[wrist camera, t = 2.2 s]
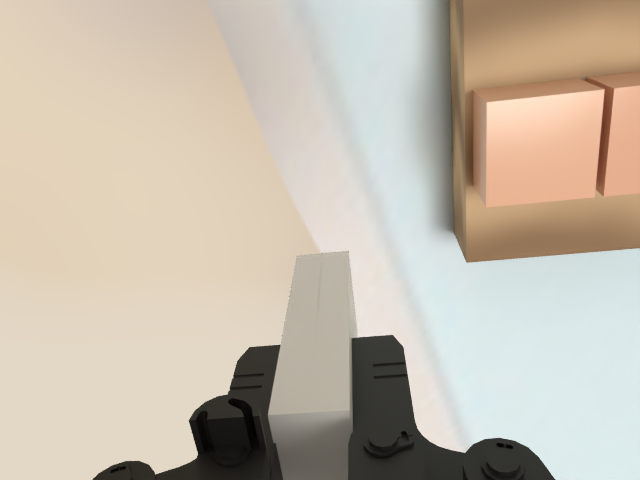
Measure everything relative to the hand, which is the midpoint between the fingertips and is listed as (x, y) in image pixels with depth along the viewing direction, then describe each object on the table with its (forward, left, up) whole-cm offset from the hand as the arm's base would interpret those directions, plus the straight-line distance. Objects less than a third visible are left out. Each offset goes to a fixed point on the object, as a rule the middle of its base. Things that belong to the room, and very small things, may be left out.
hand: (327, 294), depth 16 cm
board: (0, +12, -18) cm, 22 cm away
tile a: (0, +10, -14) cm, 17 cm away
